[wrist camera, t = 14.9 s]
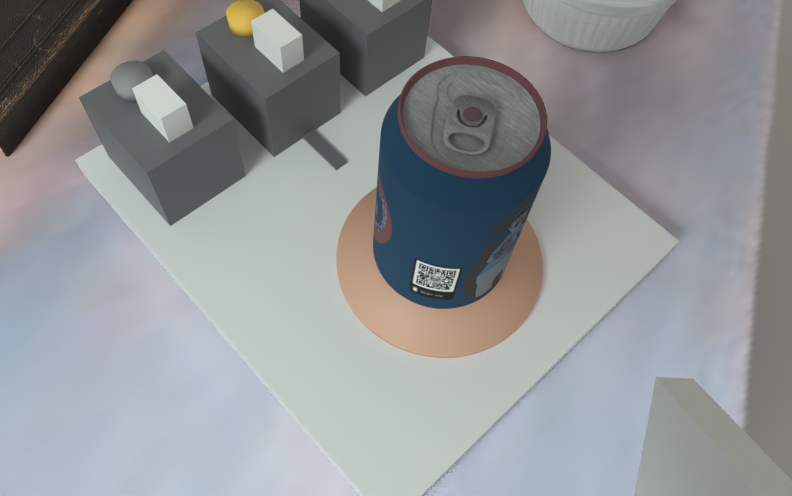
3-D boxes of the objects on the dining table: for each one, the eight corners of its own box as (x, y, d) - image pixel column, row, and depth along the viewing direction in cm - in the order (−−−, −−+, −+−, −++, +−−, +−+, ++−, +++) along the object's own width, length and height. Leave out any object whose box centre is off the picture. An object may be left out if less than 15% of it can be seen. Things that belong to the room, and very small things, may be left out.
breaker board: (84, 175, 40) (26, 75, 33) (367, 4, 49) (371, -106, 41) (387, 530, 32) (399, 500, 25) (668, 253, 40) (739, 171, 33)
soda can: (388, 191, 39) (403, 29, 28) (510, 218, 39) (571, 63, 28) (358, 302, 36) (362, 164, 25) (492, 332, 35) (553, 205, 25)
